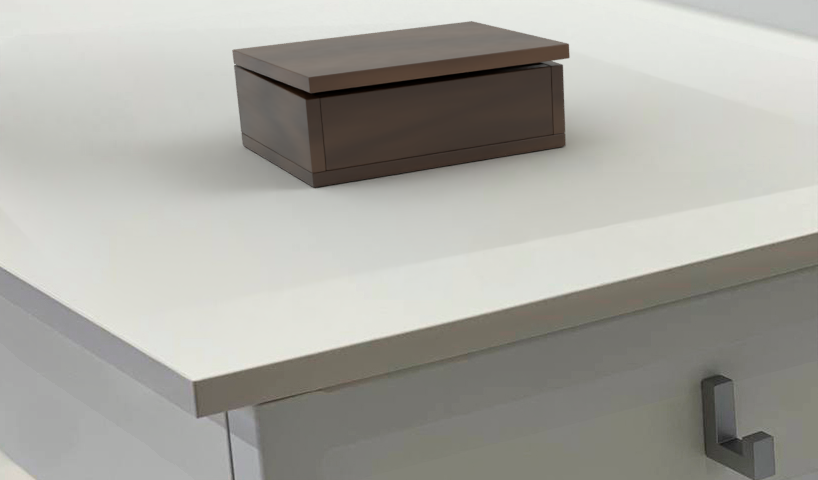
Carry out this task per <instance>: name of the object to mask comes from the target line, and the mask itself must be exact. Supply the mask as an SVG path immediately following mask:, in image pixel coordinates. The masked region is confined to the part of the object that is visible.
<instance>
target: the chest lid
mask: <svg viewBox="0 0 818 480" xmlns="http://www.w3.org/2000/svg"><path fill="white" fill-rule="evenodd" d="M570 57H571V56H570V44H569V43H568V42H563V41H559V40H556V39H551V38H546V37H542V36H538V35H533V34H530V33H524V32H520V31H516V30H512V29H507V28H504V27H499V26H494V25H490V24H486V23H481V22H477V21H472V20H471V21H462V22H461V21H460V22H454V23H453V22H452V23H445V24H444V23H443V24H437V25H427V26H419V27H412V28H402V29H394V30H387V31H377V32H370V33H361V34H352V35H351V34H350V35H343V36H336V37H328V38H327V37H325V38H319V39H309V40H301V41H293V42H285V43H277V44H268V45H260V46H251V47H250V46H249V47H242V48H235V49H232V59H233V64H234V65H238V66H241V67H244V68H246V69H249V70H252V71H254V72H257V73H259V74H262V75H265V76H267V77H270V78H272V79H275V80H278V81H280V82H283V83H285V84H288V85H291V86H293V87H296V88H299V89H301V90H304V91H306V92H309V93H317V92H324V91H331V90H339V89H346V88H354V87H361V86H368V85H376V84H383V83H391V82H398V81H405V80H413V79H420V78H428V77H435V76H442V75H450V74H457V73H465V72H472V71H479V70H487V69H494V68H502V67H509V66H516V65H524V64H531V63H539V62H546V61H553V62H554V61H561V60H566V59H570Z"/></svg>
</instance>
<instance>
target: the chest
mask: <svg viewBox="0 0 818 480" xmlns="http://www.w3.org/2000/svg"><path fill="white" fill-rule="evenodd" d="M233 70H234V79H235V88H236V96H237V104H238V105H237V107H238V114H239V125H240V132H241V133H240V134H241V143H242V146H244V147H245V148H247V149H249V150H250V151H252V152H254V153H255V154H257V155H259V156H260V157H261V158H264V159H265V160H267V161H269V162H271V163H272V164H274V165H275V166H277V167H279V168H280V169H283V170H284V171H285V172H287V173H289V174H290V175H292V176H294V177H295V178H297V179H299V180H301V181H302V182H304V183H306V184H307V185H309V186H311V187H312V188H320V187H326V186H331V185H338V184H345V183H349V182H350V183H351V182H356V181H361V180H368V179H375V178H380V177H387V176H393V175H398V174H399V175H400V174H405V173H412V172H418V171H423V170H429V169H435V168H441V167H447V166H453V165H454V166H455V165H459V164H466V163H471V162H479V161H483V160H489V159H495V158H496V159H497V158H501V157H508V156H514V155H520V154H527V153H531V152H538V151H545V150H550V149H556V148H563V147H566V145H567V144H566V112H565V85H564V83H565V81H564V64H562V63H559V62H556V61H554V60H553V61H546V62H539V63H531V64H524V65H516V66H509V67H502V68H494V69H487V70H479V71H472V72H465V73H457V74H450V75H442V76H435V77H428V78H420V79H413V80H405V81H398V82H391V83H383V84H376V85H368V86H361V87H354V88H346V89H339V90H331V91H324V92H317V93H309V92H306V91H304V90H301V89H299V88H296V87H293V86H291V85H288V84H285V83H283V82H280V81H278V80H275V79H272V78H270V77H267V76H265V75H262V74H259V73H257V72H254V71H252V70H249V69H246V68H244V67H241V66H238V65H236V64H234V65H233Z"/></svg>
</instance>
